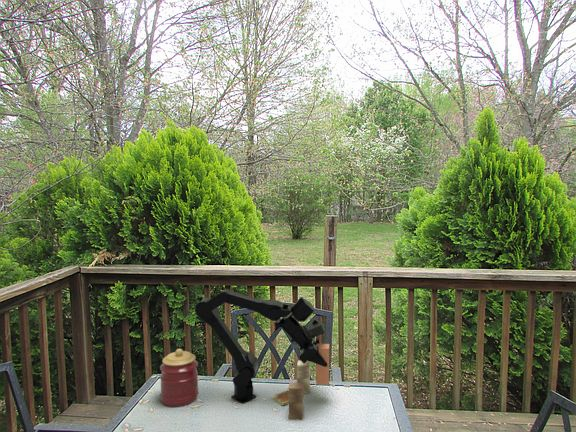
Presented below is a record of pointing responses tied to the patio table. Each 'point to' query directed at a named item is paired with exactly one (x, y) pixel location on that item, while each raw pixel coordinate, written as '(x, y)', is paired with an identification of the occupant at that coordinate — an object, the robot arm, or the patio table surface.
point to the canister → (179, 379)
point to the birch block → (304, 375)
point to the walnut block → (296, 401)
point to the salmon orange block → (322, 371)
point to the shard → (282, 398)
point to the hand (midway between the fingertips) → (326, 363)
